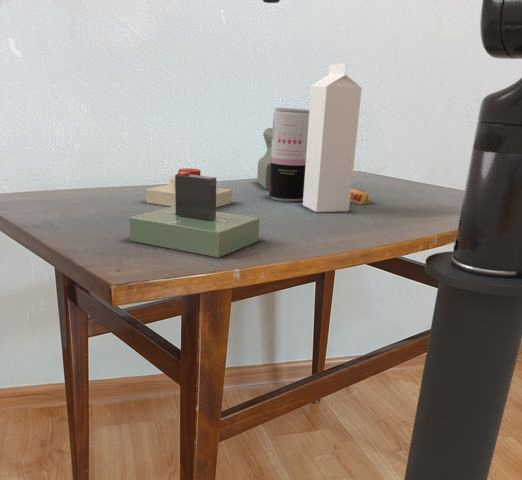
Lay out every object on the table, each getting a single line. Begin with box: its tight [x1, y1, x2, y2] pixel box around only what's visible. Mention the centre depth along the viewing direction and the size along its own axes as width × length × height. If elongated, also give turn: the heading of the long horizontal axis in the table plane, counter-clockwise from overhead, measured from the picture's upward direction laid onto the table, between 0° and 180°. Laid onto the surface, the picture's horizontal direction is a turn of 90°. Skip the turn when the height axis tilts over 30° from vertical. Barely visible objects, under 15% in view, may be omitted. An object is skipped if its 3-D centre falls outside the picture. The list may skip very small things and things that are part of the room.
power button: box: [177, 167, 202, 176], centre depth 97 cm, size 4×4×2 cm
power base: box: [145, 175, 233, 208], centre depth 98 cm, size 11×9×4 cm
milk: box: [302, 63, 363, 213], centre depth 95 cm, size 6×6×22 cm
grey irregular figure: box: [256, 127, 273, 191], centre depth 117 cm, size 16×9×11 cm, turn 179°
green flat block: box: [128, 206, 260, 258], centre depth 75 cm, size 13×10×3 cm
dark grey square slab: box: [174, 171, 217, 221], centre depth 73 cm, size 5×2×5 cm, turn 62°
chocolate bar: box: [350, 188, 371, 205], centre depth 110 cm, size 3×12×2 cm, turn 35°
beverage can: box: [268, 107, 310, 203], centre depth 103 cm, size 7×6×15 cm
